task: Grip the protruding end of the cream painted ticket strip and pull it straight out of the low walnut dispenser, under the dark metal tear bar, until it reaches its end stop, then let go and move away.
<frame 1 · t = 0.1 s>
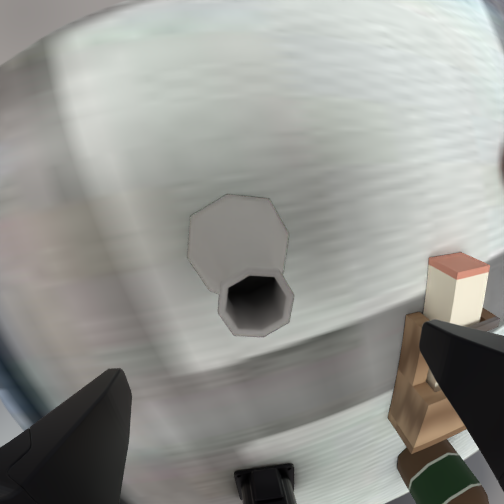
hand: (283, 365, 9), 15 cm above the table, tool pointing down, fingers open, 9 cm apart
beer bottle: (418, 449, 33), on the table
flask: (237, 243, 23), on the table
dispenser: (430, 358, 28), on the table
ticket strip: (448, 334, 25), point 2 cm above the table, slide at 3.0 cm
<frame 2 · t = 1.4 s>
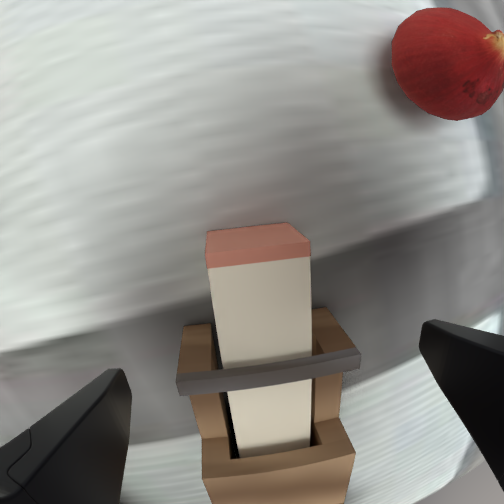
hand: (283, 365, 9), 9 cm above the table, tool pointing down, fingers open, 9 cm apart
onion: (407, 76, 15), on the table
dispenser: (264, 398, 19), on the table
ticket strip: (264, 367, 16), point 2 cm above the table, slide at 3.0 cm
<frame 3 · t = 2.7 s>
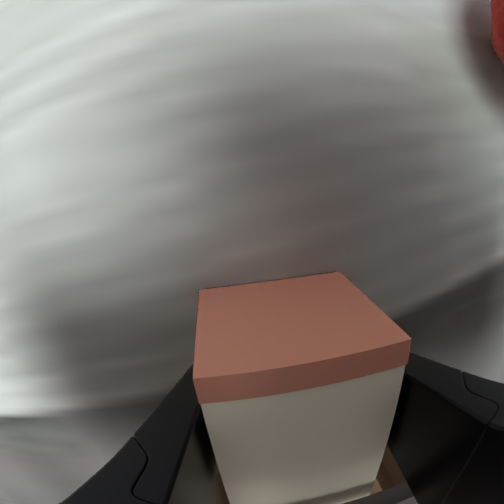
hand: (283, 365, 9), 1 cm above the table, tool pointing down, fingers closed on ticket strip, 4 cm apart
onion: (494, 50, 8), on the table
dispenser: (284, 491, 12), on the table
ticket strip: (292, 482, 9), point 2 cm above the table, slide at 3.0 cm, touching gripper
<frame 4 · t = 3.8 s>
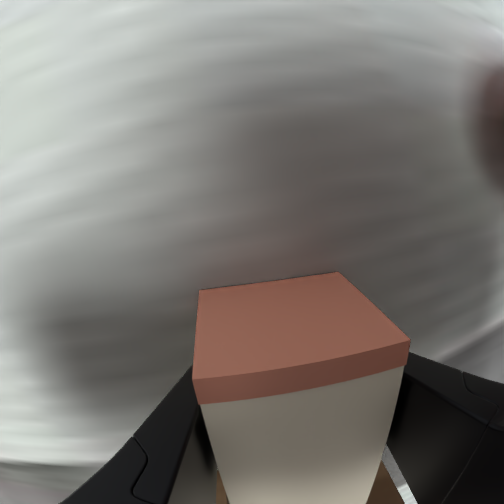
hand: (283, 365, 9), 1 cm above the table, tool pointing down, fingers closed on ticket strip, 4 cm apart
ticket strip: (292, 482, 9), point 2 cm above the table, slide at 6.3 cm, touching gripper
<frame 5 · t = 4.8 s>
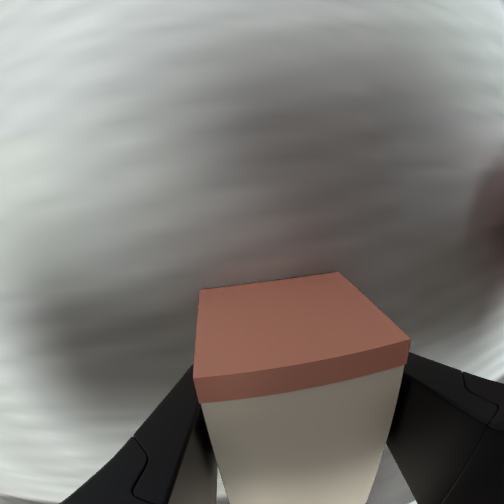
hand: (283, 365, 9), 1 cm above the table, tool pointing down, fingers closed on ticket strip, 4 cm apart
ticket strip: (291, 482, 9), point 2 cm above the table, slide at 10.4 cm, touching gripper
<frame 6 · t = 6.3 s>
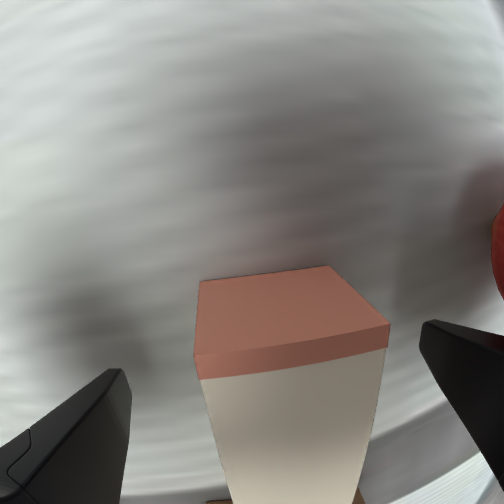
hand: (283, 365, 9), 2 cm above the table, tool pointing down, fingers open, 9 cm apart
onion: (493, 227, 11), on the table
ticket strip: (286, 467, 10), point 2 cm above the table, slide at 10.5 cm
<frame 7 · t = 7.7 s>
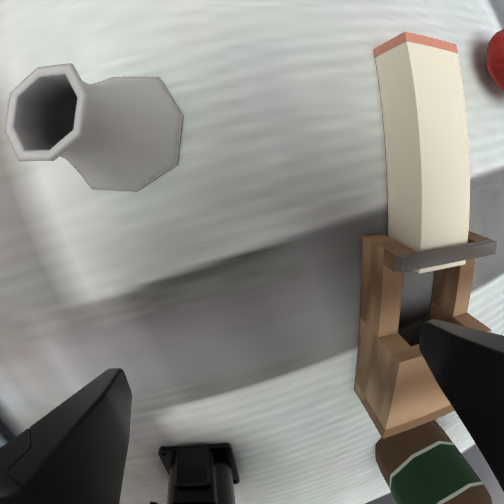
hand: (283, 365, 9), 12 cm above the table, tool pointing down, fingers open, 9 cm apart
beer bottle: (403, 437, 28), on the table
onion: (488, 69, 18), on the table
flask: (125, 133, 17), on the table
dispenser: (406, 307, 22), on the table
ticket strip: (427, 151, 17), point 2 cm above the table, slide at 10.5 cm
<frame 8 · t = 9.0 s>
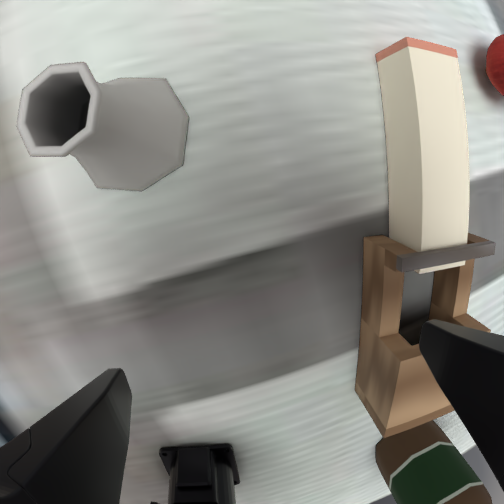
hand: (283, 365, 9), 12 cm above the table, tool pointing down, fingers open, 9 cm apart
beer bottle: (402, 438, 28), on the table
onion: (487, 74, 19), on the table
flask: (131, 133, 18), on the table
dispenser: (406, 307, 23), on the table
ticket strip: (427, 154, 18), point 2 cm above the table, slide at 10.5 cm
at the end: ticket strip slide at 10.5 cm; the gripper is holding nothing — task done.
